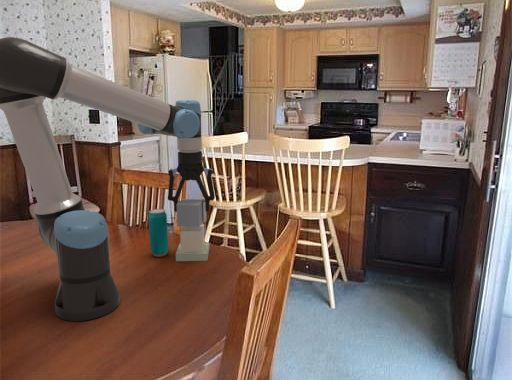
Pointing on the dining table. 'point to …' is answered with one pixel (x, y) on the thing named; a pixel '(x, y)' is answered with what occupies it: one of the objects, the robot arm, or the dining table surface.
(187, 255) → the base plate
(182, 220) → the gray cube
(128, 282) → the dining table surface
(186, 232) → the cream brick
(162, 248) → the beverage can
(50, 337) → the dining table surface
